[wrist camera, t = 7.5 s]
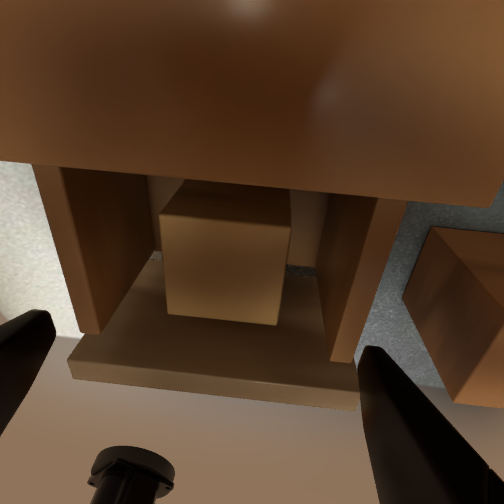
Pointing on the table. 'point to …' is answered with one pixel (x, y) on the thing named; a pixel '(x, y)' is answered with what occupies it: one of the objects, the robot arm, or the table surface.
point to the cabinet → (262, 92)
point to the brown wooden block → (462, 311)
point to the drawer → (206, 329)
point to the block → (225, 250)
